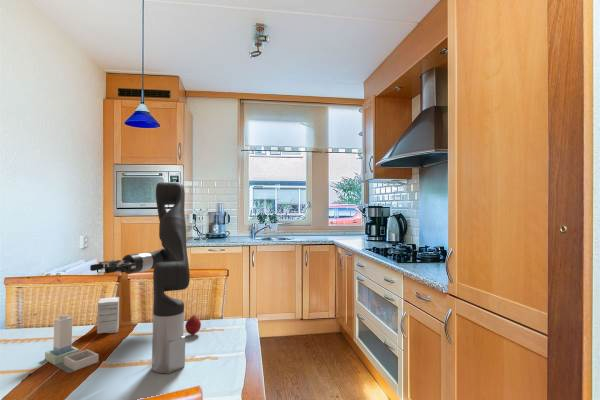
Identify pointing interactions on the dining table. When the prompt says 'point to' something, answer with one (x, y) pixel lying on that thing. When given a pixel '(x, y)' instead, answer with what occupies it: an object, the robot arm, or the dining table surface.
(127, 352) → the dining table surface
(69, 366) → the double bin tray
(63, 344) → the milk carton
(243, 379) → the dining table surface
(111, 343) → the dining table surface
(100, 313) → the supplement box
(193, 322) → the onion
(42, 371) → the dining table surface
